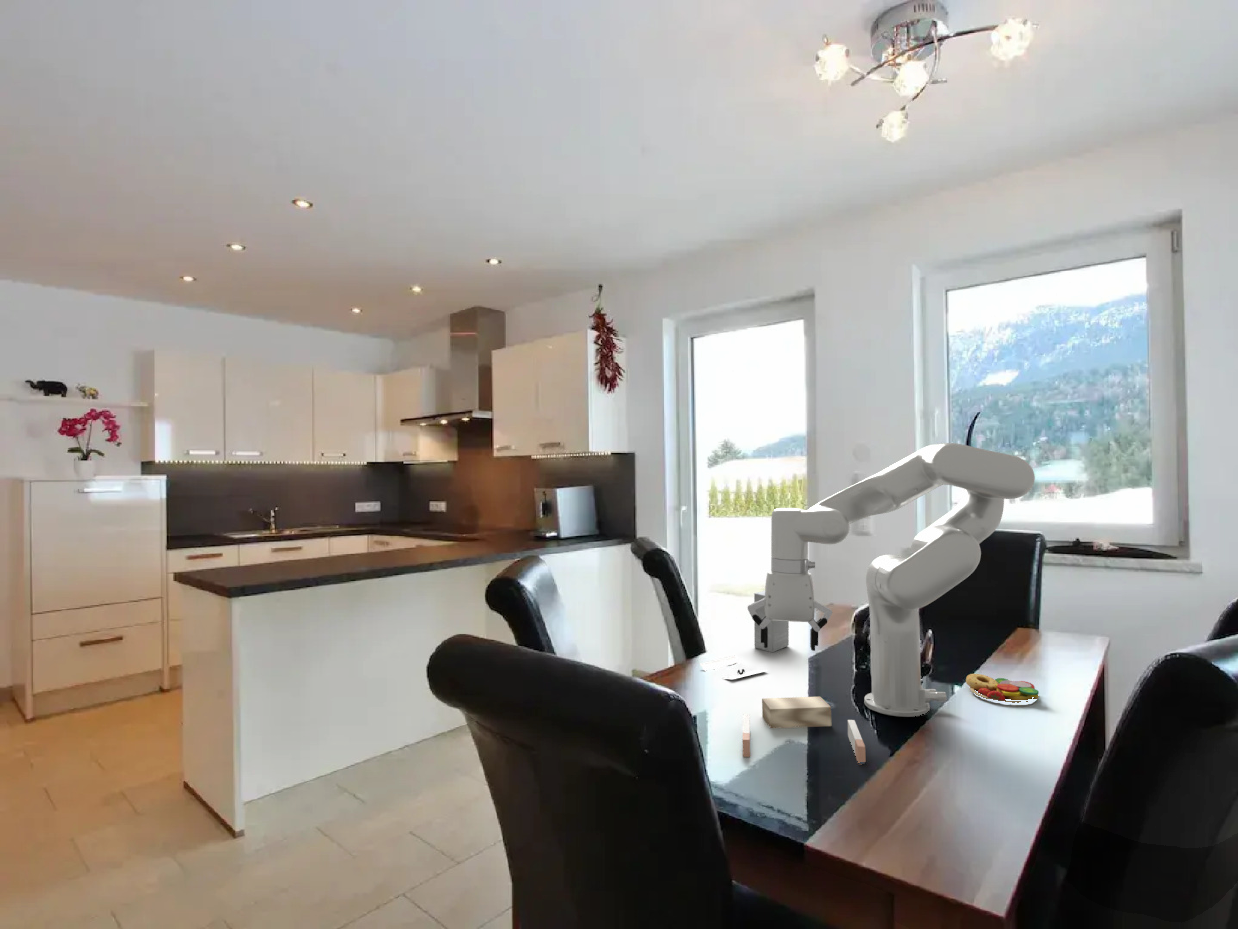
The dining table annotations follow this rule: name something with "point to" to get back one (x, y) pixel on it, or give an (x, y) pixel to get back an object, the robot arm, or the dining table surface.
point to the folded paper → (727, 661)
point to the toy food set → (1001, 688)
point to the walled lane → (852, 734)
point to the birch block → (796, 712)
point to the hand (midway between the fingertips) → (789, 647)
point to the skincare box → (771, 630)
